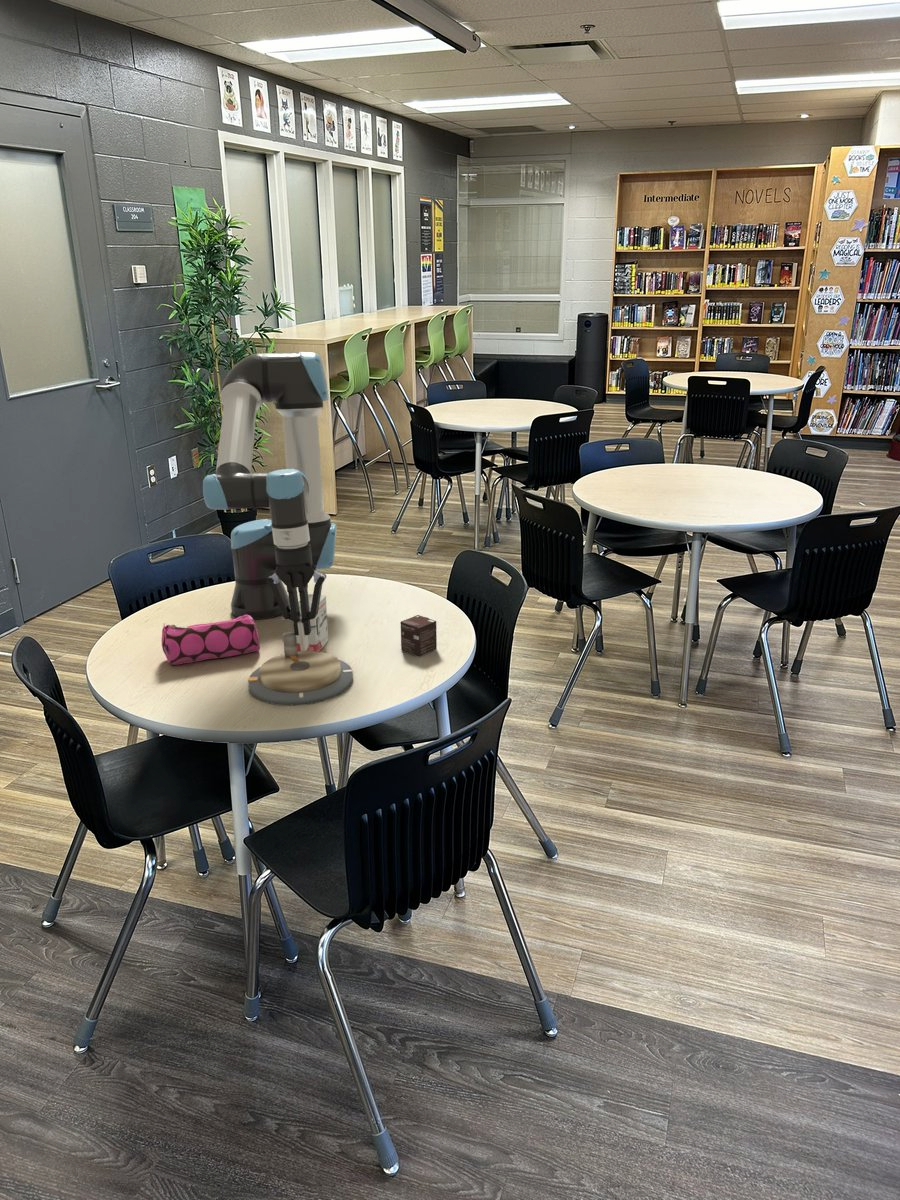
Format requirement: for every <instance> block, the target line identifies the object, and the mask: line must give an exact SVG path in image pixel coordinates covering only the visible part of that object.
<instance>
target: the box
mask: <svg viewBox="0 0 900 1200" xmlns="http://www.w3.org/2000/svg"><path fill="white" fill-rule="evenodd" d="M437 645H438V644H437V620H434V619H431V618H429V617H427V616H423V615H420V614H417V615H414V616H412V617H409V618H407V619H404V620H401V621H400V647H401V648H400V650H401V652H404V653H407V654H409V655H412V656H415V657H418V658H421V657H424V656H425V655H428V654H430V653H432V652H435V651H436V650H437ZM434 650H435V651H434Z"/></svg>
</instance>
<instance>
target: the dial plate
mask: <svg viewBox="0 0 900 1200" xmlns="http://www.w3.org/2000/svg"><path fill="white" fill-rule="evenodd" d="M337 659H338V660H339V661H340V667H341V675H340V677H339V678H338V680H337V681H335V682H334V683H332V684H331V685H328V686H326V687H324V688H321V689H317V690H313V691H308V692H299V693H286V692H278V691H274V690H271V689H268V688H266V687H265V686H263V685H262V683H261V681H260V672H259V670H260V667H261V666H259V667H257V668H255V670H254V671H253V672H251V674H250V675H249V677H248V682H247V683H248V690H249V691H248V692H249V693H250V694H251V696H252V697H254V699H257V700H259V701H261V702H264V703H268V704H272V705H279V706H304V705H310V704H316V703H320V702H324V701H327V700H329V699H333V698H336V697H338V696H340V695H341V694H342V693H345V692H346V691H347V690H348V689H349V688H350V687H351V686H352V684H353V682H354V673H353V672H354V671H353V668H352V667H351V665H349V664H348V663H347V662H345V661H343V660H341V659H339V658H337Z"/></svg>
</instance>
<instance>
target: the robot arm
mask: <svg viewBox="0 0 900 1200" xmlns="http://www.w3.org/2000/svg"><path fill="white" fill-rule="evenodd" d="M219 397H220V402H221V404H222V407H223V409H222V415H221V425H220V434H219V442H218V451H217V460H216V469H215V473H213V474H207V475H205V476H204V478H203V481H202V492H203V499H204V503H205V506H206V507H207V508H208V509H210V510H221V511H223V510H224V511H228V510H243V509H245V510H246V509H268V508H269V515H270V518H263V519H256V520H251V521H248V522H245V523H242V524H238V525H237V526H236V527H234V528H233V529H232V530H231V533H230V544H231V545H230V549H231V553H232V562H233V564H232V565H233V572H234V573H233V574H234V579H235V580H234V581H235V585H234V590H233V593H232V598H231V602H230V608H231V614H232V615H233V616H234V617H236V618H238V617H240V616H243V615H245V614H246V615H250V616H251V617H252V618H253V619H254V620H264V619H270V618H274V617H278V616H281V615H282V618H283V619H284V620H287V621H288V620H289V621H291V622H292V623H293V624H292V625H293V632H294V633H295V635H299V639H300V647H301V651H306V649H307V648H308V646H309V644H308V636H307V635H309V634H310V633H311V624H310V620H311V619H314V618H315V617H316V616H317V614H318V609H319V603H320V597H321V595H322V590H323V584H324V582H325V581H326V579H327V574H326V573H321V572H318V571H317V570H325V569H330V568H332V567H333V566H334V563H335V554H336V544H337V543H336V542H337V527H338V526H337V524H336V523H334V522H332V523H331V516H330V515H329V514H328V512H326V511H325V509H324V508H325V507H324V494H323V493H324V490H323V479H322V478H323V476H322V464H321V463H322V461H321V448H320V434H319V433H320V431H319V417H318V416H319V414H320V413H321V412H322V410H323V409H324V402H326V401H328V400H329V397H330V396H329V390H328V384H327V378H326V373H325V368H324V365H323V361H322V358H321V356H320V354H318V353H317V352H313V351H311V352H309V351H296V352H295V351H294V352H293V351H292V352H267V353H266V352H265V353H264V352H260V353H259V352H258V353H253V354H249V355H248V356H246V357H244V358H242V359H241V360H240V361H238V362H237V363H236V364H235V365H234V366H233V367H232V368H231V369H230V370H229V371H228V373H227V374H226V376H225V378H224V380H223V383H222V384H221V389H220V396H219ZM262 403H274V405H275V411H276V412H277V413H278V414H280V415H281V417H282V425H283V426H282V428H283V437H284V453H285V465H286V466H285V467H286V468H285V469H283V468H282V469H278V470H277V469H276V470H273V471H270V472H257V473H254V472H253V473H252V467H253V456H254V443H255V431H256V430H255V429H256V422H257V421H256V418H257V411H258V410H259V409H260V408H261V405H262ZM312 578H313V582H314V583H315V584H314V587H313V592H312V594H313V598H312V604H311V611H310V609H309V599H308V594H309V591H308V588H309V583H310V581H311V579H312ZM285 586H286V588H285ZM298 594H299V595H298ZM299 601H300V606H301V615H300V610H299ZM301 616H302V618H301V619H300V617H301Z"/></svg>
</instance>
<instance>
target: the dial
mask: <svg viewBox="0 0 900 1200" xmlns="http://www.w3.org/2000/svg"><path fill="white" fill-rule="evenodd" d="M282 638H283V650H284V651H283V652H284V653H283V654H279V655H277V656H276V655H275V656H274V657H271V658H270V659H268V660H266V661H265V662H263V663H262V664H261V665H260V666H259V667H260V670H259V672H260V681H261V683H262V685H263V686H265V687H266V688H268V689H271V690H274V691H278V692H286V693H299V692H308V691H313V690H317V689H321V688H324V687H326V686H328V685H331V684H332V683H334V682H335V681H337V680H338V678H339V677H340V675H341V667H340V661H339V660H340V659H339V658H338V657H336V656H335V655H333V654H330V653H326V652H322V651H319V652H316V651H300V652H297V637H296V635H295V633H294V631H285V632H284V633H282ZM338 659H339V660H338Z"/></svg>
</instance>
